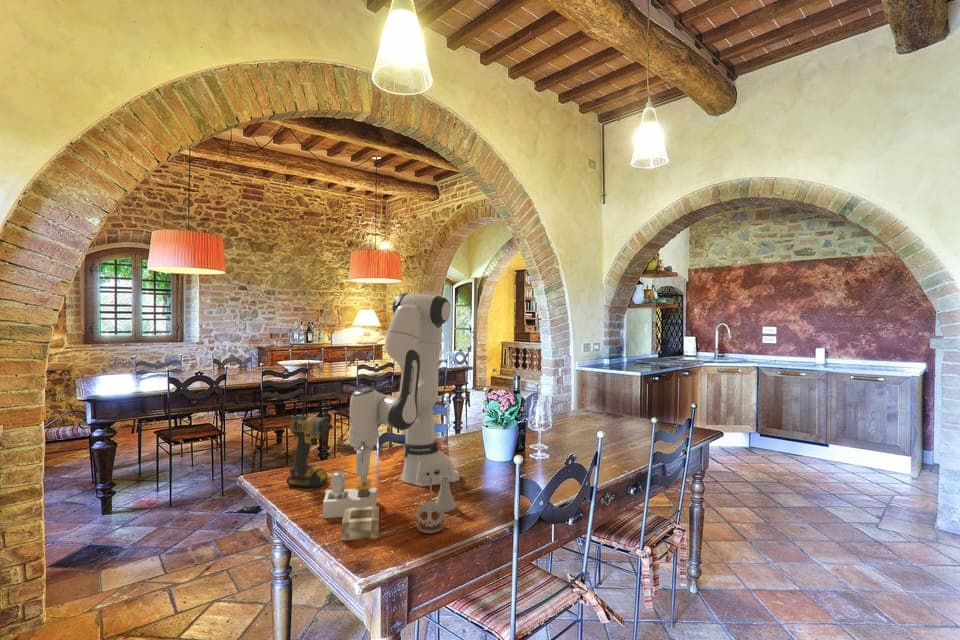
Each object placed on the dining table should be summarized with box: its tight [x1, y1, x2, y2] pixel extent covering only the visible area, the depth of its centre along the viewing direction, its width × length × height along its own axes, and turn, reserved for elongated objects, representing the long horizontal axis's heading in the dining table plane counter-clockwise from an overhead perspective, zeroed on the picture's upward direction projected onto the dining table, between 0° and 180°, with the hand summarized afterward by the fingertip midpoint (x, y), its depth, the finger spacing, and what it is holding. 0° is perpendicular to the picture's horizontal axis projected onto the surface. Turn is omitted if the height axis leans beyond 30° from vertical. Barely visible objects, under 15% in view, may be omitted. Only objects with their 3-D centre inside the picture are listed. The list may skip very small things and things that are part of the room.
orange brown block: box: [355, 478, 372, 497], centre depth 153 cm, size 4×6×7 cm
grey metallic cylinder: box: [331, 471, 346, 499], centre depth 151 cm, size 4×4×12 cm
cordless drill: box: [286, 414, 342, 488], centre depth 174 cm, size 9×20×25 cm, turn 78°
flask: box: [435, 476, 457, 513], centre depth 154 cm, size 7×7×10 cm
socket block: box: [322, 486, 378, 519], centre depth 152 cm, size 16×10×5 cm, turn 101°
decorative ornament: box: [416, 478, 445, 534], centre depth 139 cm, size 8×8×15 cm
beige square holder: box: [341, 505, 380, 541], centre depth 137 cm, size 10×10×5 cm
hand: (363, 481), depth 153 cm, fingers closed
